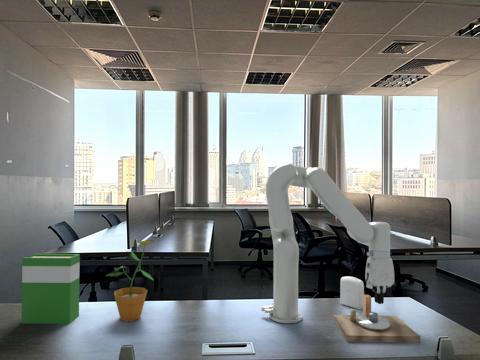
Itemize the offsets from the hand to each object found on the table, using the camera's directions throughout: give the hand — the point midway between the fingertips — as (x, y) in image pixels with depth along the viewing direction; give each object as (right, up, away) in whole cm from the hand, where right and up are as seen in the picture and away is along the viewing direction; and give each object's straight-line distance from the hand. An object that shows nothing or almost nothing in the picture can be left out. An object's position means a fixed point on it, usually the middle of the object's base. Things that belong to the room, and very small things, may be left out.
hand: (379, 302), depth 134 cm
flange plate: (-5, -5, -7) cm, 10 cm away
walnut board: (-5, -7, -9) cm, 12 cm away
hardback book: (-124, -6, -1) cm, 124 cm away
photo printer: (-5, -7, +16) cm, 19 cm away
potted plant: (-95, -6, +1) cm, 95 cm away
